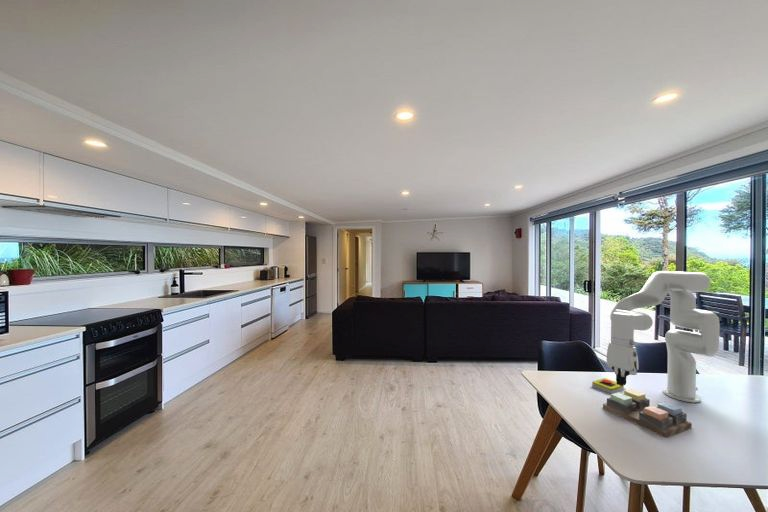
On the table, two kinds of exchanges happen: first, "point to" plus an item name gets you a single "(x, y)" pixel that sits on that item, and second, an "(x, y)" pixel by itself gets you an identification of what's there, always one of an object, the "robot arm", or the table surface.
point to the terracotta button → (656, 413)
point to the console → (648, 417)
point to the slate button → (670, 408)
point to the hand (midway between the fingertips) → (621, 384)
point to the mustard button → (635, 395)
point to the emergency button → (607, 386)
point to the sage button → (621, 398)
